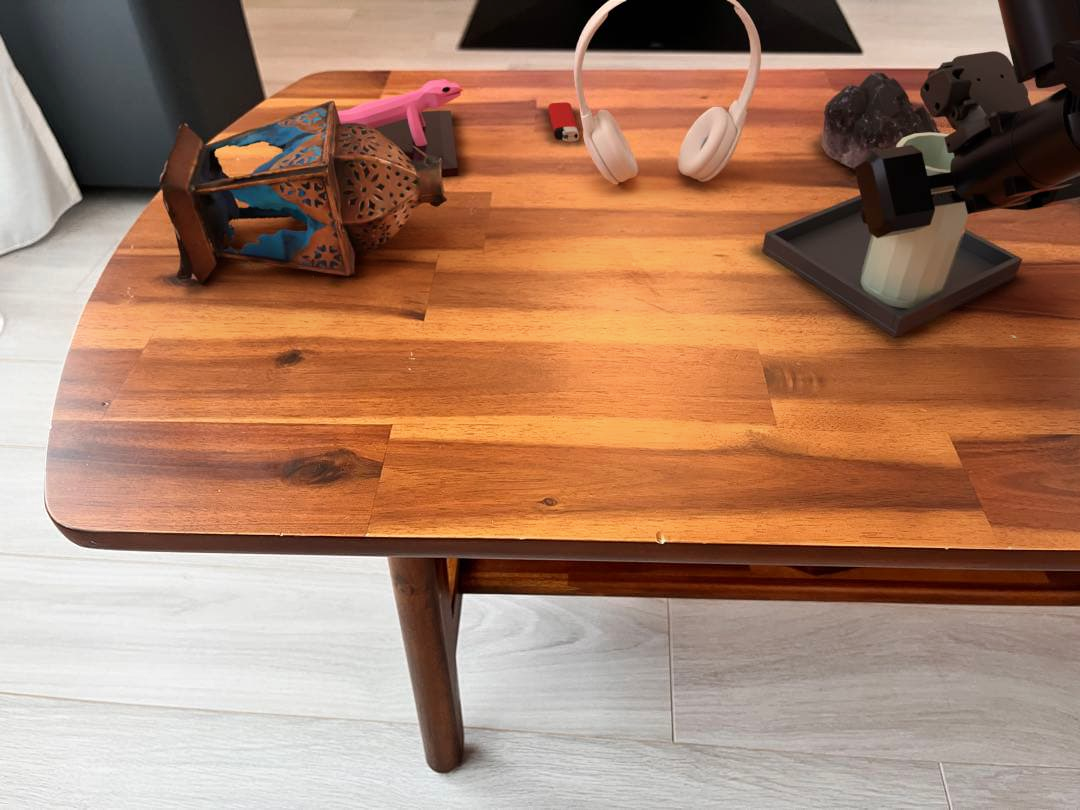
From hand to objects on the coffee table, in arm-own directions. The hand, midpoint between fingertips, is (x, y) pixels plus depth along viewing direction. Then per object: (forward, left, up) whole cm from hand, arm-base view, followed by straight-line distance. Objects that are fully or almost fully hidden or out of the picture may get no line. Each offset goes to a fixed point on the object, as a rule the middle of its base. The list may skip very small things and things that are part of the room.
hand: (910, 208), depth 77 cm
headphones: (+27, +5, -8) cm, 29 cm away
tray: (+2, -2, -8) cm, 8 cm away
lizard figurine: (+50, +27, -8) cm, 58 cm away
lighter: (+43, +7, -8) cm, 45 cm away
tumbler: (-2, 0, -7) cm, 7 cm away
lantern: (+34, +41, -8) cm, 54 cm away
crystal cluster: (+18, -19, -8) cm, 27 cm away
